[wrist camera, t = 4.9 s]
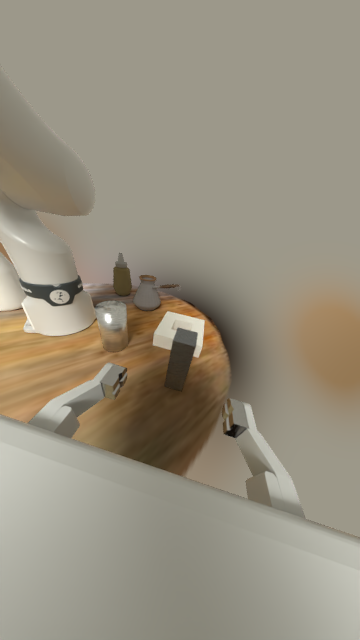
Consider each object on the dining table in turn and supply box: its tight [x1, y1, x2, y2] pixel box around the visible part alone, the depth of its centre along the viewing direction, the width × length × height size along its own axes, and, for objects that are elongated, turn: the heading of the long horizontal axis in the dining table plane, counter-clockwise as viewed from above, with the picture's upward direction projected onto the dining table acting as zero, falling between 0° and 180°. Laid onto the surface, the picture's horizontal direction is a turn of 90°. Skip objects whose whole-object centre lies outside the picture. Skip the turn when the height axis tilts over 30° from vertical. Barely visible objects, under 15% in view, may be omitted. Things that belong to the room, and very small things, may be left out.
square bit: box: [165, 328, 198, 391], centre depth 28 cm, size 4×4×14 cm
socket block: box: [153, 311, 205, 357], centre depth 44 cm, size 14×14×4 cm
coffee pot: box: [133, 275, 181, 311], centre depth 52 cm, size 21×12×15 cm, turn 52°
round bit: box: [95, 301, 128, 352], centre depth 35 cm, size 7×7×12 cm
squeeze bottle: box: [114, 253, 132, 296], centre depth 60 cm, size 8×8×18 cm
